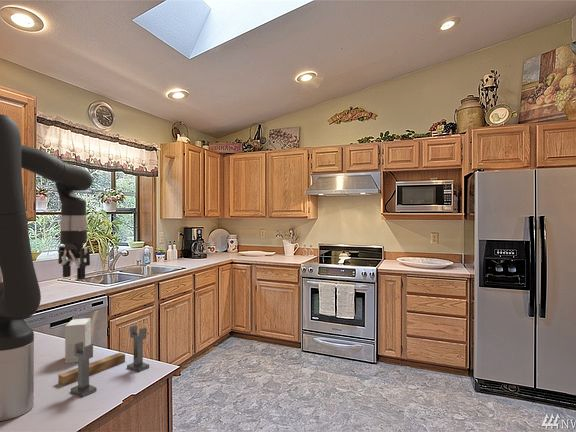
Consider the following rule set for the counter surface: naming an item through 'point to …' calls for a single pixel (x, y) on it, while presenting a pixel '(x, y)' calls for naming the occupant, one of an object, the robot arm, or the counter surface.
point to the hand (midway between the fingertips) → (73, 278)
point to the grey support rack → (85, 355)
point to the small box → (76, 337)
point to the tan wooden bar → (92, 368)
